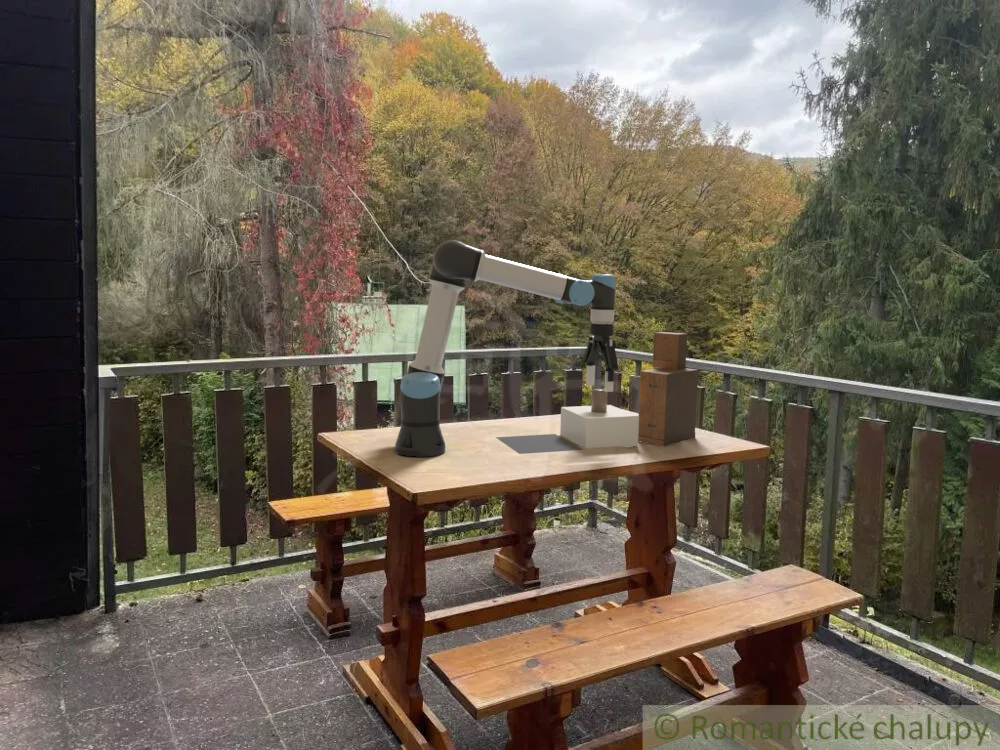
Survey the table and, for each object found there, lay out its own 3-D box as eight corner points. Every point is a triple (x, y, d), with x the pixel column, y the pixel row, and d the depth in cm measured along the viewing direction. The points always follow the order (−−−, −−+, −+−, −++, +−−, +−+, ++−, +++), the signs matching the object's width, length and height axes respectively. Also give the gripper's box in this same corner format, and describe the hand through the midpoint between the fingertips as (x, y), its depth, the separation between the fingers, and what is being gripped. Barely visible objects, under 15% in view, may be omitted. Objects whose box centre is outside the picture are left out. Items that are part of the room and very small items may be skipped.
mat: (519, 455, 219) (519, 453, 219) (495, 439, 241) (495, 437, 241) (583, 451, 226) (583, 449, 226) (554, 435, 247) (555, 433, 247)
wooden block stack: (659, 431, 257) (663, 331, 253) (695, 438, 247) (700, 334, 243) (627, 439, 244) (631, 334, 239) (663, 446, 234) (668, 337, 229)
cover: (585, 450, 227) (587, 396, 225) (560, 436, 246) (561, 386, 244) (637, 446, 233) (640, 393, 231) (609, 433, 252) (610, 384, 250)
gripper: (631, 325, 224) (627, 394, 227) (595, 320, 247) (593, 382, 250) (609, 325, 222) (606, 394, 224) (575, 320, 245) (572, 382, 248)
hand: (599, 388), depth 237 cm, fingers open, 13 cm apart
